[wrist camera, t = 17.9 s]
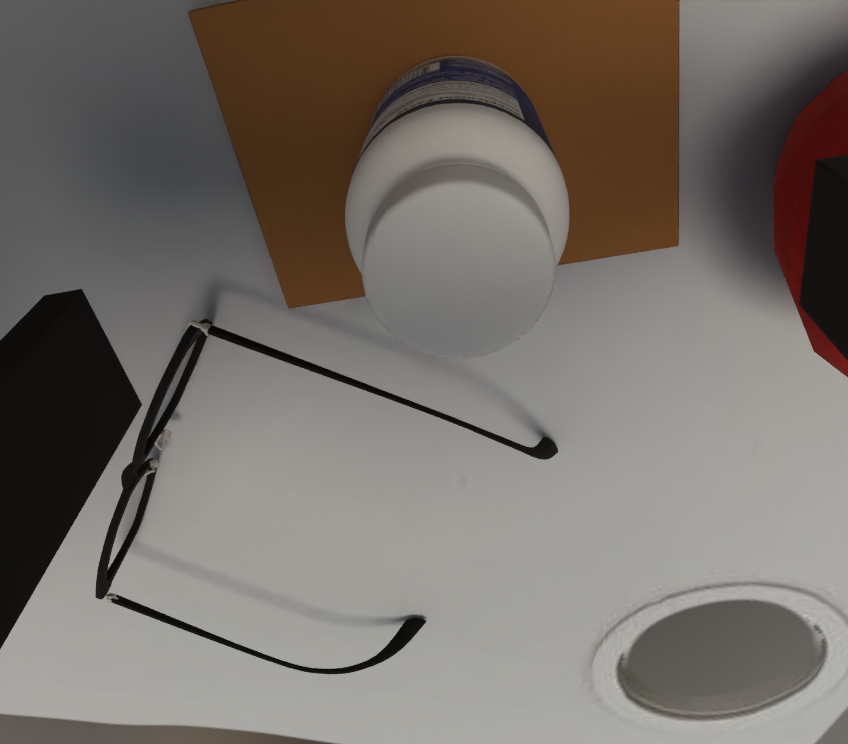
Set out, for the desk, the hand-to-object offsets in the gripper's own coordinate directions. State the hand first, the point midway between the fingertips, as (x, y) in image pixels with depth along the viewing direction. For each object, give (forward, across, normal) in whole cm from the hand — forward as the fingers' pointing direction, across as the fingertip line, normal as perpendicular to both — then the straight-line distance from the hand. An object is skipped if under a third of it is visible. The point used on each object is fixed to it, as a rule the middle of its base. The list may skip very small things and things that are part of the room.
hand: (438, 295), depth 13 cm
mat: (+12, 0, 0) cm, 12 cm away
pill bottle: (+11, 0, -1) cm, 11 cm away
